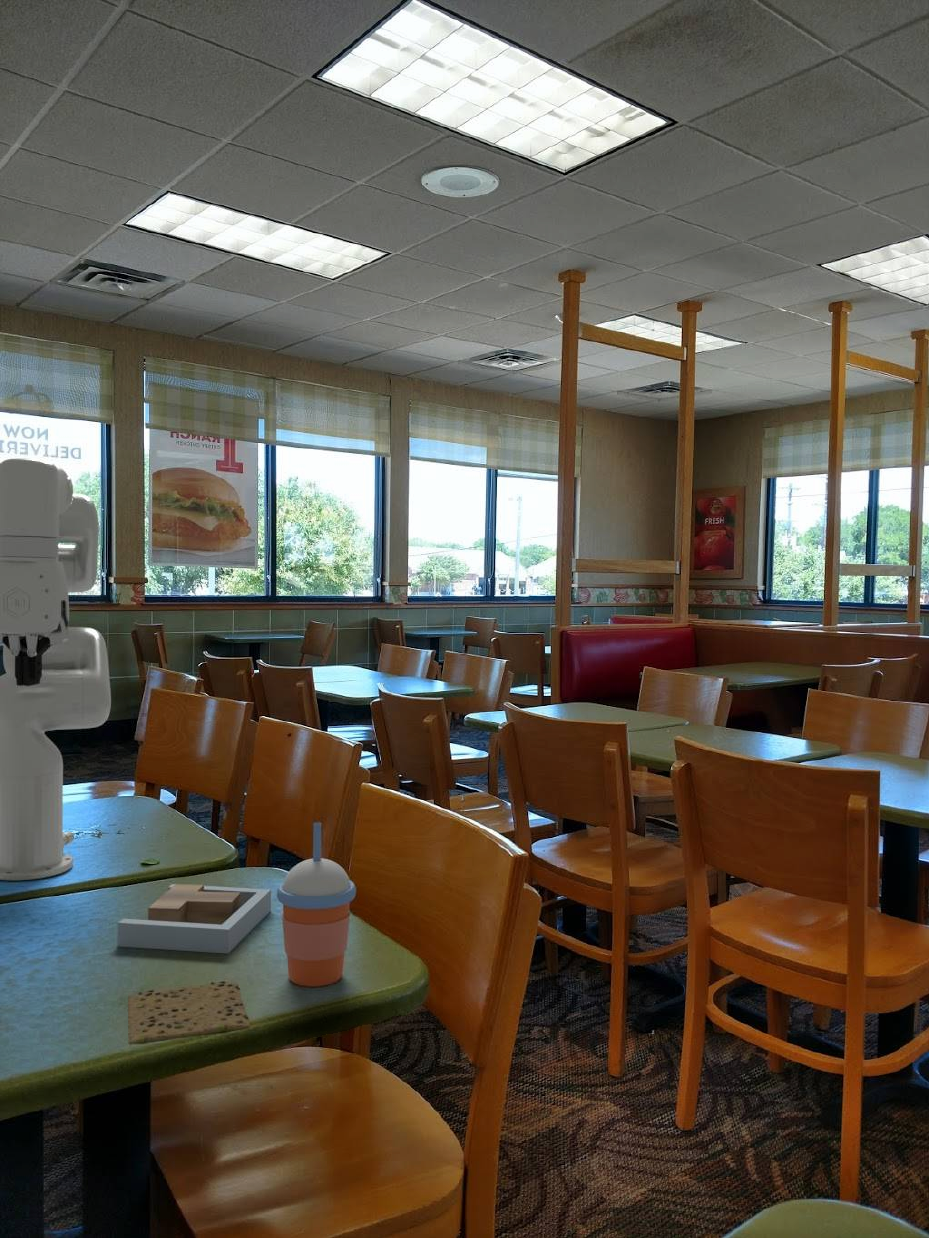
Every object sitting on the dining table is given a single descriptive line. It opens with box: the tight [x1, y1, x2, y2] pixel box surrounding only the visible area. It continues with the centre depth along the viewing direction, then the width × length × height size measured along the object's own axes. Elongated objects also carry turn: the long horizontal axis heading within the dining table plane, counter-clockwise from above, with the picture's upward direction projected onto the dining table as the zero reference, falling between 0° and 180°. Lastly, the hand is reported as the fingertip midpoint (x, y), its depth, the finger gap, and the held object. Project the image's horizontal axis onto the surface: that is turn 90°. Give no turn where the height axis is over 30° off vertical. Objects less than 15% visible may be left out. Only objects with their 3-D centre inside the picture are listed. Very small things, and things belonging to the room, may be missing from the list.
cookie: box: [127, 980, 251, 1045], centre depth 102 cm, size 12×12×1 cm
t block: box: [147, 883, 241, 925], centre depth 127 cm, size 10×10×4 cm
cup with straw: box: [276, 822, 357, 988], centre depth 111 cm, size 9×9×18 cm
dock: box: [116, 883, 272, 955], centre depth 127 cm, size 16×14×3 cm
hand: (28, 684), depth 131 cm, fingers closed
